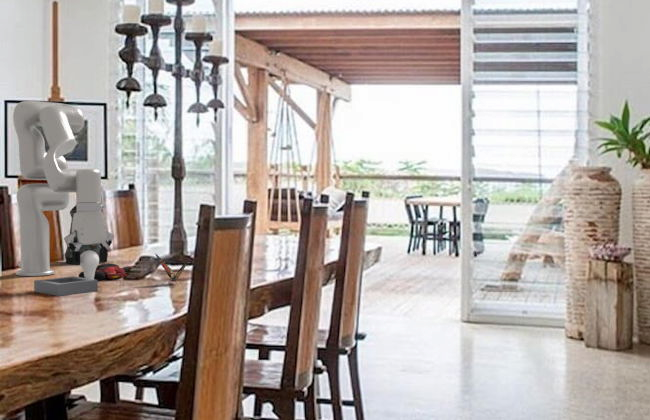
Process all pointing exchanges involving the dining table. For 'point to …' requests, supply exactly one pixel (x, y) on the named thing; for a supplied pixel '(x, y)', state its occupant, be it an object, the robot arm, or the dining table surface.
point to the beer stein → (84, 247)
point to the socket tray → (65, 285)
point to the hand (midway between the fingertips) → (90, 262)
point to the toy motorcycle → (109, 271)
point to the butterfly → (169, 271)
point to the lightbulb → (89, 263)
